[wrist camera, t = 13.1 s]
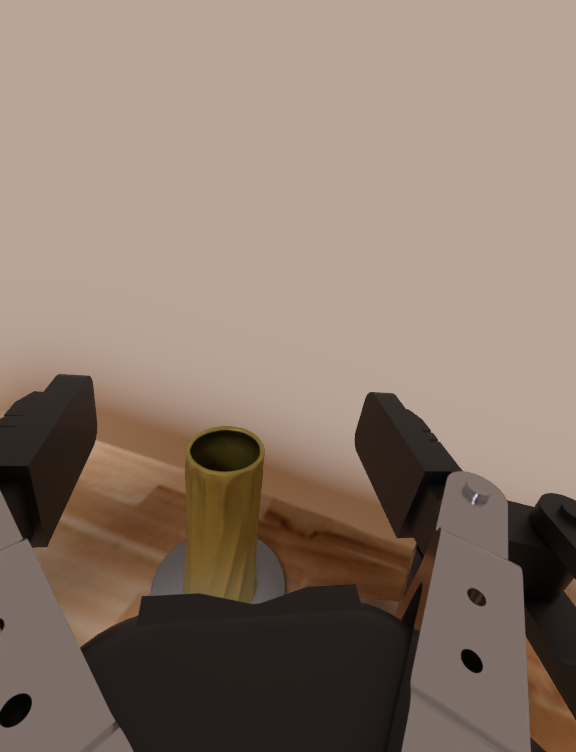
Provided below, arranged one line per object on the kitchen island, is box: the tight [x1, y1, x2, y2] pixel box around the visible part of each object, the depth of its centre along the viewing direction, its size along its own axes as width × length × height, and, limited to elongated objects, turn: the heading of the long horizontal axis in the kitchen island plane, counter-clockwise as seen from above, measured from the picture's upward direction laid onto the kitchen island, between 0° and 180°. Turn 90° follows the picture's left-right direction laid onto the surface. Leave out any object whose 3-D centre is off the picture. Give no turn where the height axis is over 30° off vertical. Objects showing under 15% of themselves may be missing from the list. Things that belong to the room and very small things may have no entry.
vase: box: [183, 426, 265, 603], centre depth 28 cm, size 6×6×14 cm
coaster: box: [151, 538, 285, 604], centre depth 32 cm, size 11×11×1 cm
